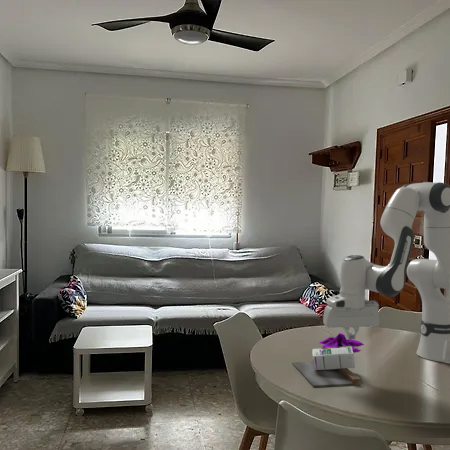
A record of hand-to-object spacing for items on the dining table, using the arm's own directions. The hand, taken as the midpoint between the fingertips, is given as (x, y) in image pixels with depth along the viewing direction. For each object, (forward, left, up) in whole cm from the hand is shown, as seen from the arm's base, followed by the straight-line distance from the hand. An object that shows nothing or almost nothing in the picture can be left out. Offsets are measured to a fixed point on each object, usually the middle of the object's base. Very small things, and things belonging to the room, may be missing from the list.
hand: (350, 338), depth 163 cm
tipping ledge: (+10, 0, -12) cm, 16 cm away
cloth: (-9, -31, -13) cm, 35 cm away
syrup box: (-1, 0, -7) cm, 7 cm away
